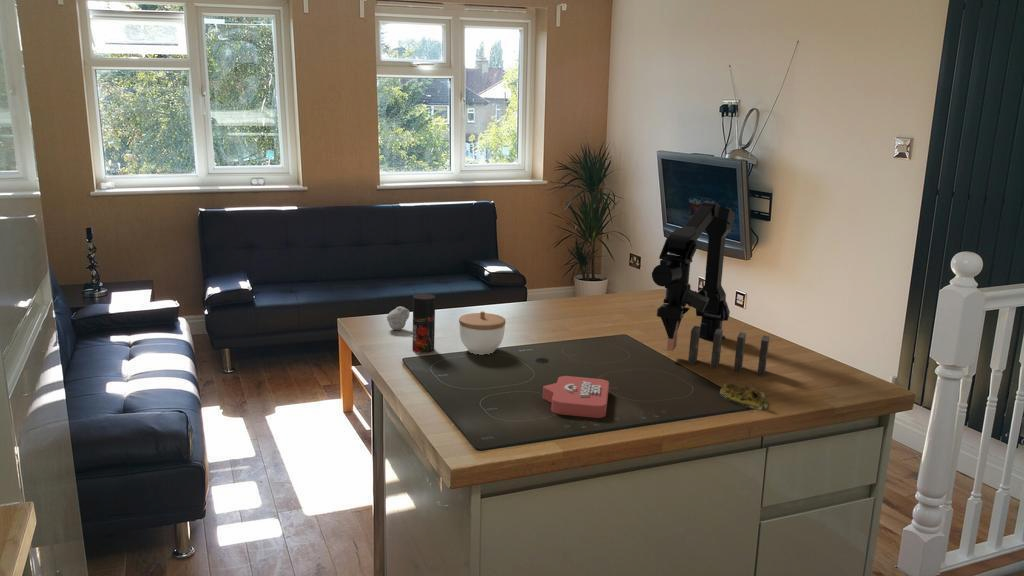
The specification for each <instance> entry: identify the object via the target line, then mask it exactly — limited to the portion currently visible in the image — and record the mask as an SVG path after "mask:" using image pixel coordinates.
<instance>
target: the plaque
mask: <svg viewBox="0 0 1024 576" xmlns="http://www.w3.org/2000/svg"><path fill="white" fill-rule="evenodd" d="M609 389H610V382H609V380H605V379H603V378H594V377H593V378H592V377H582V376H571V375H562V376H559V377H558V378H557V381H556V382H554V383H550V384H547V385H543V387H542V399H543V400H546V401H547V402H548V403H550V404H551V405H550V407H551V408H550V411H551V412H552V413H554V414H557V415H563V416H565V415H566V416H573V417H585V418H592V419H593V418H594V419H595V418H596V419H599V418H600V419H601V418H605V417H606V416H607V415H606V414H607V407H608V400H609V399H608V398H609V393H610V391H609Z"/></svg>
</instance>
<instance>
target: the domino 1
mask: <svg viewBox="0 0 1024 576" xmlns="http://www.w3.org/2000/svg"><path fill="white" fill-rule="evenodd" d="M678 323H679V321H678V322H677V326H676V329H675V333H674V336H673V339H669V338H668V337H667V345H666V351H668V352H674V351H675V349H676V347H677V344H678V343H677V342H678V334H679V328H678Z"/></svg>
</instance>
